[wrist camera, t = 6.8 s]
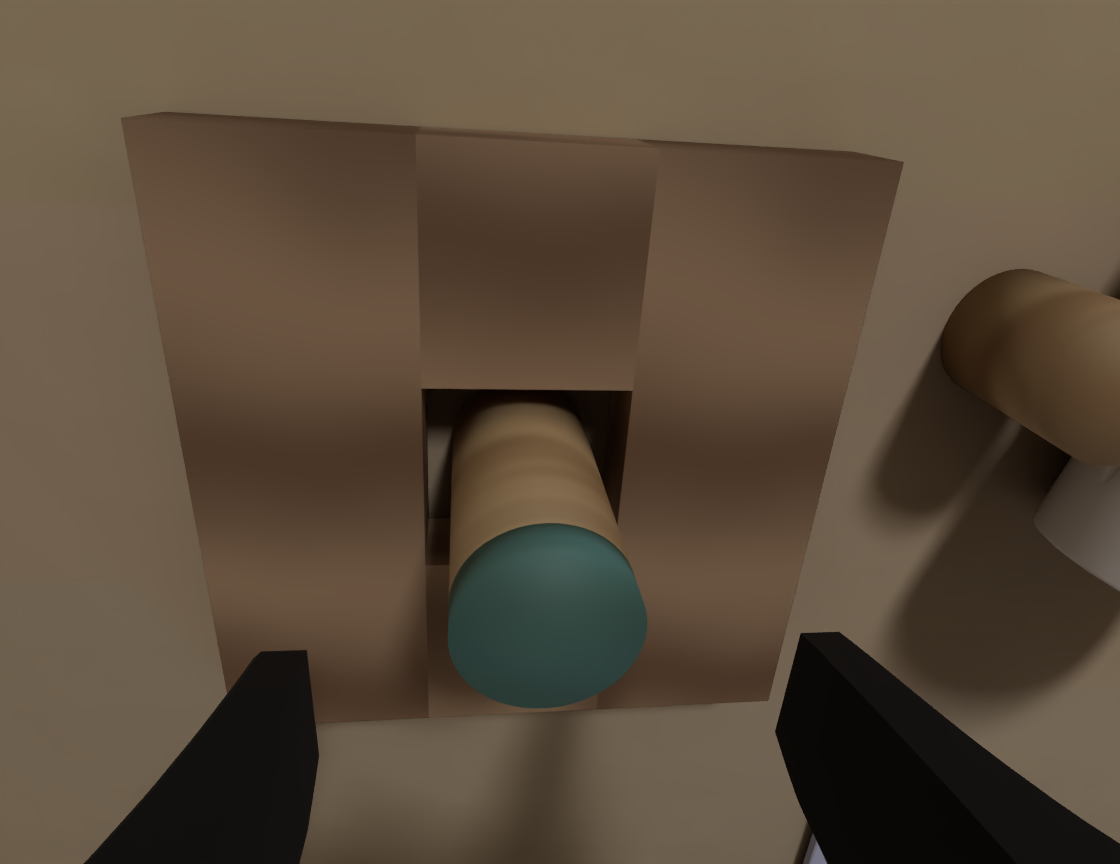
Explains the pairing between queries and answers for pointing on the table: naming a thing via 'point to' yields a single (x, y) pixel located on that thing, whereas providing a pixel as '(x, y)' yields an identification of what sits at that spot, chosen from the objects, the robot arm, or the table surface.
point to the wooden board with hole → (498, 375)
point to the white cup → (1085, 518)
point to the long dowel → (535, 556)
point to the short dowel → (1042, 359)
